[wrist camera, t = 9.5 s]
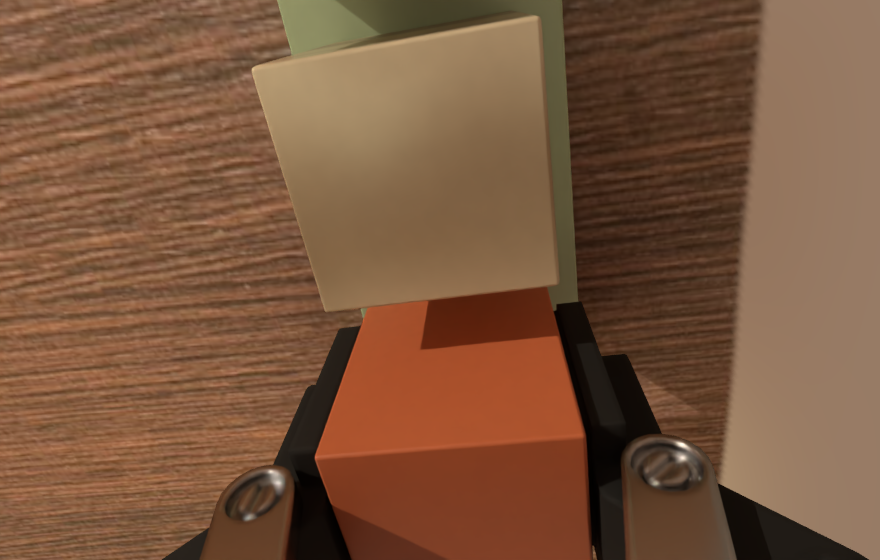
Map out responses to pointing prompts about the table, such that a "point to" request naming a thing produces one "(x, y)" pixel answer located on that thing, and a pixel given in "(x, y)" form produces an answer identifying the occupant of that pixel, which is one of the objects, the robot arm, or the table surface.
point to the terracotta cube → (459, 435)
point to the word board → (425, 147)
